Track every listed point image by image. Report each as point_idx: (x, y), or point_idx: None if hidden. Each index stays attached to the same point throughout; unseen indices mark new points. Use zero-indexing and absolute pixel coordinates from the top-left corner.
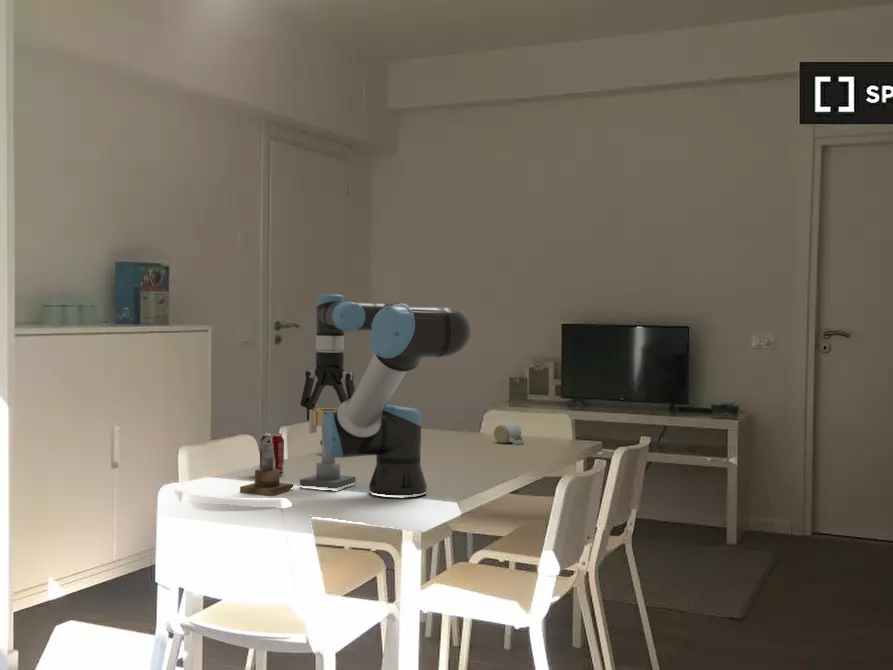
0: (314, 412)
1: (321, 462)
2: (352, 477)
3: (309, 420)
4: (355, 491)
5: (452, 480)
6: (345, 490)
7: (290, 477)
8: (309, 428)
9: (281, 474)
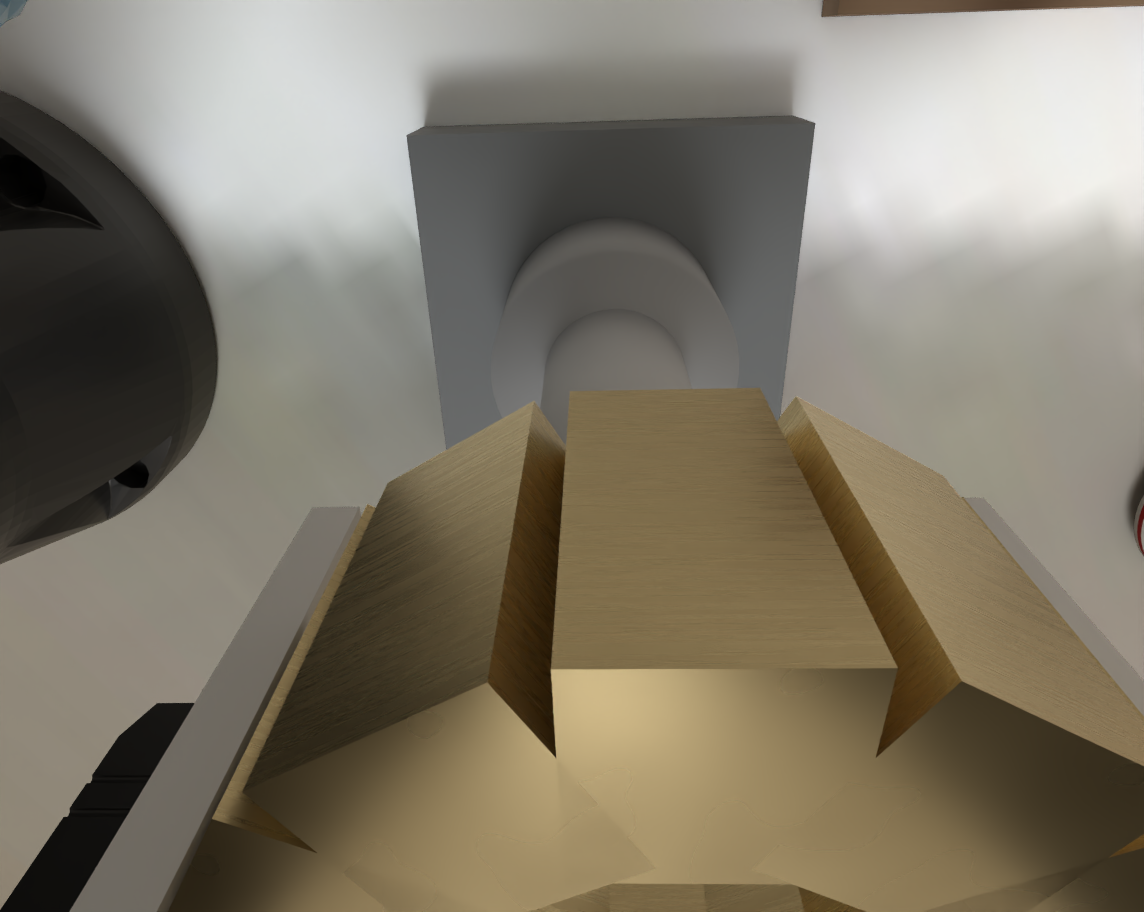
0: (1044, 680)
1: None
2: (448, 441)
3: (1126, 666)
4: (309, 238)
5: None
6: (402, 236)
7: (1049, 497)
8: (1021, 549)
9: (1139, 503)
